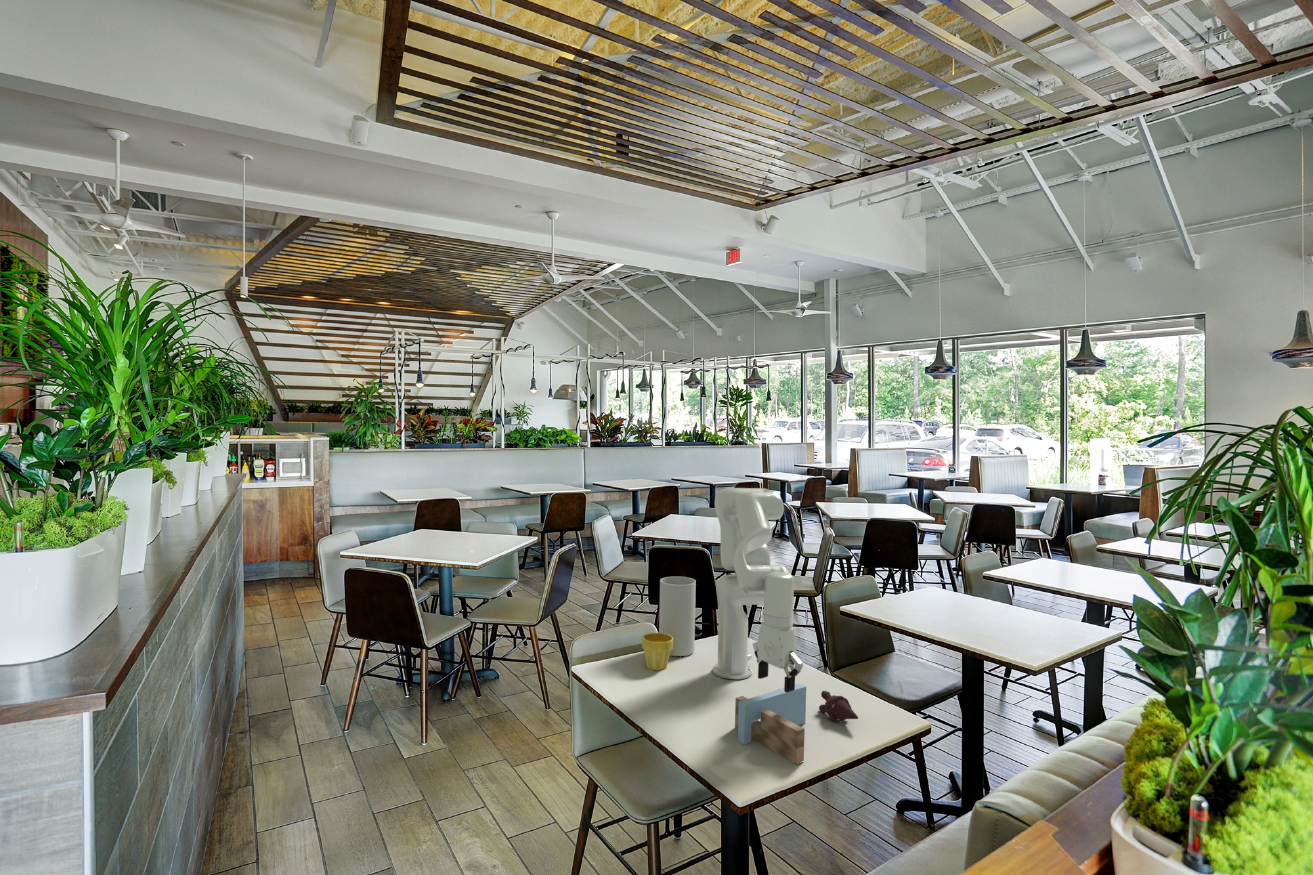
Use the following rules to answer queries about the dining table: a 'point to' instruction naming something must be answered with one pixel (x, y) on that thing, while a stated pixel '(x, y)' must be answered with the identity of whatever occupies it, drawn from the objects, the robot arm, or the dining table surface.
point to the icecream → (837, 707)
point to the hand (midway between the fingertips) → (775, 684)
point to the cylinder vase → (678, 613)
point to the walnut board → (777, 734)
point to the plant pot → (657, 649)
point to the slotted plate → (771, 709)
